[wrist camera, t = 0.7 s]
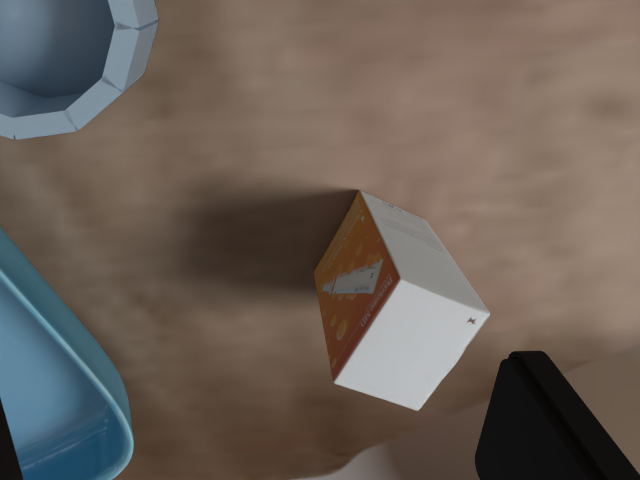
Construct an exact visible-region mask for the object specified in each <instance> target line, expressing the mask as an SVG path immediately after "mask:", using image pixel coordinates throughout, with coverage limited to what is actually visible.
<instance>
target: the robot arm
mask: <svg viewBox="0 0 640 480" xmlns="http://www.w3.org/2000/svg"><path fill="white" fill-rule="evenodd" d="M475 465H476V470H477V473H478V476H479V478H480V480H640V475H639V473H638V472H637V471H636V470H635V468H634V467H633V466H632V464H631V463H630V462H629V460H628V459H627V458H626V456H625V455H624V454H623V453H622V451H621V450H620V449H619V447H618V446H617V445H616V444H615V442H614V441H613V440H612V438H611V437H610V436H609V434H608V433H607V432H606V431H605V429H604V428H603V427H602V425H601V424H600V423H599V421H598V420H597V419H596V418H595V416H594V415H593V414H592V412H591V411H590V410H589V408H588V407H587V406H586V405H585V403H584V402H583V401H582V399H581V398H580V397H579V396H578V394H577V393H576V392H575V390H574V389H573V388H572V386H571V385H570V384H569V382H568V381H567V380H566V379H565V377H564V376H563V375H562V373H561V372H560V371H559V369H558V368H557V367H556V366H555V364H554V363H553V362H552V360H551V359H550V358H549V357H548V355H547V354H546V353H545V352H542V351H515V352H512V353H511V354H510V355H509V357H508V359H504V360H502V361H501V364H500V367H499V370H498V374H497V378H496V381H495V385H494V388H493V392H492V396H491V399H490V403H489V407H488V410H487V414H486V417H485V421H484V425H483V428H482V432H481V436H480V439H479V443H478V446H477V450H476V454H475ZM0 480H23V475H22V472H21V468H20V465H19V461H18V458H17V454H16V451H15V447H14V444H13V440H12V437H11V433H10V430H9V426H8V423H7V419H6V415H5V412H4V408H3V405H2V401H1V398H0Z"/></svg>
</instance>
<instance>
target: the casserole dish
mask: <svg viewBox="0 0 640 480" xmlns="http://www.w3.org/2000/svg"><path fill="white" fill-rule="evenodd" d="M0 398H1V401H2V405H3V408H4V412H5V415H6V419H7V423H8V426H9V430H10V433H11V437H12V440H13V444H14V447H15V451H16V454H17V458H18V461H19V465H20V468H21V472H22V475H23V480H112V479H113V478H114V477H116V476H117V475H118V474H119V473H120V472H121V471H122V470H123V469H124V468H125V467H126V466H127V464H128V463H129V461H130V459H131V456H132V454H133V448H134V439H133V432H132V425H131V417H130V408H129V402H128V397H127V394H126V390H125V387H124V384H123V382H122V380H121V377H120V375H119V373H118V372H117V370H116V368H115V366H114V365H113V363H112V362H111V360H110V359H109V357H108V356H107V354H106V353H105V352H104V350H103V349H102V348H101V346H100V345H99V344H98V343H97V341H96V340H95V339H94V337H93V336H92V335H91V334H90V333H89V331H88V330H87V329H86V328H85V327H84V325H83V324H82V323H81V322H80V321H79V319H78V318H77V317H76V316H75V315H74V314H73V312H72V311H71V310H70V309H69V308H68V306H67V305H66V304H65V303H64V302H63V301H62V299H61V298H60V297H59V296H58V295H57V294H56V293H55V291H54V290H53V289H52V288H51V287H50V286H49V284H48V283H47V282H46V281H45V280H44V279H43V277H42V276H41V275H40V274H39V273H38V271H37V270H36V269H35V268H34V267H33V265H32V264H31V263H30V262H29V261H28V259H27V258H26V257H25V256H24V254H23V253H22V252H21V251H20V250H19V248H18V247H17V246H16V245H15V244H14V243H13V241H12V240H11V239H10V238H9V237H8V235H7V234H6V233H5V232H4V231H3V230H2V228H1V227H0Z"/></svg>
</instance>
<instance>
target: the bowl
mask: <svg viewBox="0 0 640 480" xmlns="http://www.w3.org/2000/svg"><path fill="white" fill-rule="evenodd" d="M155 20H158V15H157V11H156V6H155V2H154V0H0V135H1V136H4V137H7V138H10V139H14V138H16V140H18V139H25V138H33V137H40V136H47V135H54V134H61V133H68V132H76V131H77V130H80V129H81V128H82V127H83V126H84V125H86V124H87V123H88V122H89V121H90V120H91V119H93V118H94V117H95V116H96V115H97V114H98V113H100V112H101V111H102V110H103V109H104V108H105V107H107V106H108V105H109V104H110V103H111V102H112V101H114V100H115V99H116V98H117V97H118V96H119V95H120V94H122V93H123V92H124V91H125V90H126V89H127V88H129V87H130V86H131V85H132V84H133V83H134V82H135V81H137V80H138V79H139V78H140V77H141V76H142V74H143V73H144V72H145V69H146V65H147V61H148V58H149V54H150V51H151V47H152V44H153V40H154V36H155V33H156V29H157V26H158V22H157V21H155Z"/></svg>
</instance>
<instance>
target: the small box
mask: <svg viewBox="0 0 640 480" xmlns="http://www.w3.org/2000/svg"><path fill="white" fill-rule="evenodd" d="M314 278H315V284H316V289H317V295H318V300H319V305H320V311H321V317H322V322H323V327H324V333H325V339H326V344H327V350H328V355H329V361H330V366H331V372H332V377H333V383H335V384H337V385H341V386H344V387H347V388H350V389H353V390H356V391H359V392H362V393H365V394H369V395H372V396H375V397H378V398H381V399H384V400H387V401H390V402H393V403H396V404H399V405H402V406H405V407H408V408H410V409H413V410H417V411H418V410H419V409H420V408H421V407H422V405H423V404H424V403H425V402H426V400H427V399H428V398H429V396H430V395H431V394H432V393H433V391H434V390H435V389H436V387H437V386H438V385H439V383H440V382H441V381H442V380H443V378H444V377H445V376H446V375H447V374H448V372H449V371H450V370H451V369H452V368H453V367H454V365H455V364H456V363H457V361H458V360H459V358H460V357H461V355H462V354H463V352H464V350H465V349H466V347H467V346H468V344H469V343H470V342H471V340H472V339H473V337H474V336H475V335H476V334H477V332H478V331H479V329H480V328H481V326H482V325H483V324H484V322H485V321H486V320H487V318H488V317H489V316H490V312H489V311H488V309H487V308H486V307H485V305H484V304H483V302H482V301H481V299H480V298H479V296H478V295H477V293H476V292H475V291H474V289H473V288H472V286H471V285H470V283H469V282H468V280H467V279H466V278H465V276H464V275H463V273H462V272H461V270H460V269H459V267H458V266H457V264H456V263H455V261H454V260H453V258H452V257H451V255H450V254H449V252H448V251H447V250H446V248H445V247H444V245H443V244H442V242H441V241H440V239H439V238H438V237H437V235H436V234H435V232H434V231H433V230H432V228H431V227H430V225H429V224H428V222H427V221H426V220H425V219H423V218H420V217H418V216H416V215H414V214H411V213H409V212H407V211H405V210H403V209H400V208H398V207H396V206H393V205H391V204H389V203H387V202H384V201H382V200H380V199H378V198H376V197H374V196H371V195H369V194H367V193H365V192H363V191H358V193H357V195H356V197H355V199H354V201H353V203H352V205H351V207H350V209H349V211H348V213H347V214H346V216H345V218H344V220H343V222H342V223H341V225H340V227H339V229H338V231H337V233H336V234H335V236H334V238H333V240H332V241H331V243H330V245H329V247H328V248H327V250H326V252H325V254H324V255H323V257H322V259H321V260H320V262H319V264H318V265H317V267H316V269H315V270H314Z"/></svg>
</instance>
